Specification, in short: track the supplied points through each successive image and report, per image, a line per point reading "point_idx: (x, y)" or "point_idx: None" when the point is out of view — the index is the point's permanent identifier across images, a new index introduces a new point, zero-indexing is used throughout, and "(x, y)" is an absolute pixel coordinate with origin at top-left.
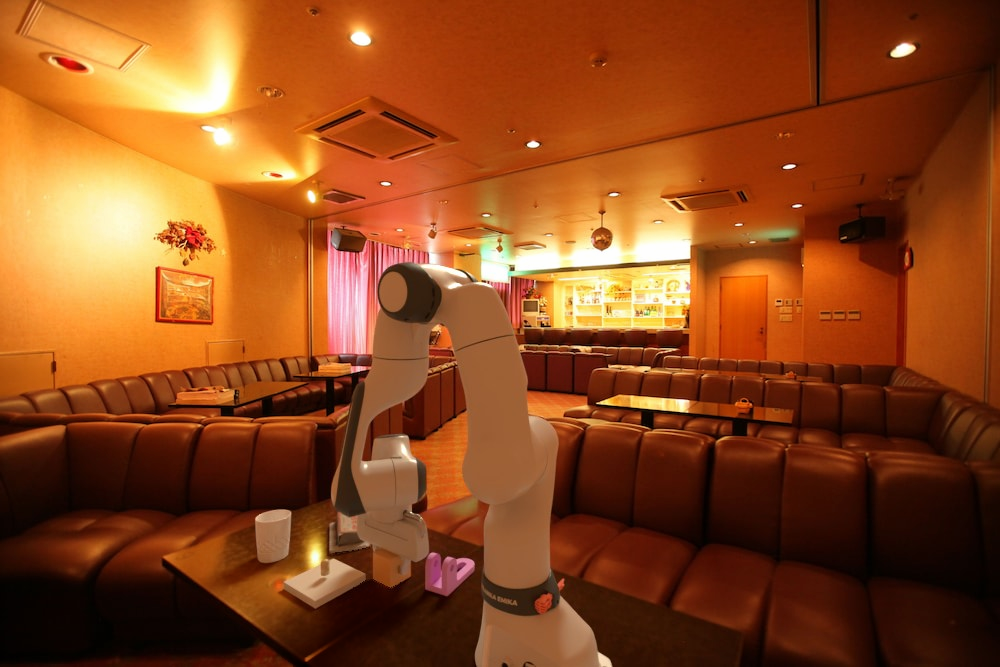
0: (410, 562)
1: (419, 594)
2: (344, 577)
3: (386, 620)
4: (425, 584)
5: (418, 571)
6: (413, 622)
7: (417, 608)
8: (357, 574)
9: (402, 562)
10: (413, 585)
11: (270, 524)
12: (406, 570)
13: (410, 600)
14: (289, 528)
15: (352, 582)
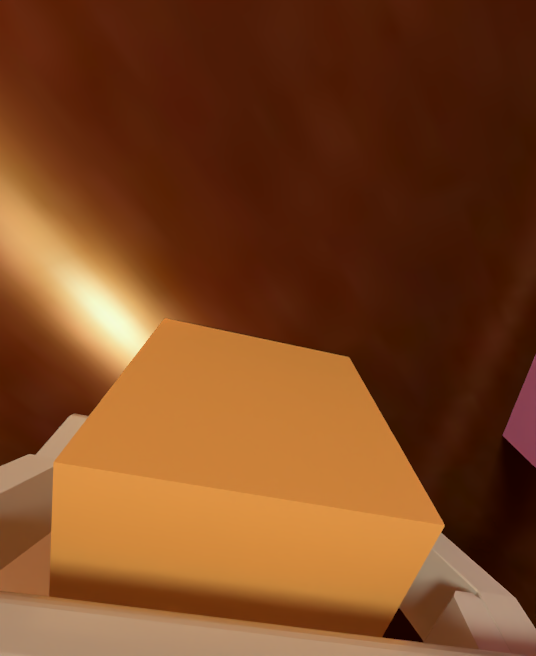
0: (380, 418)
1: (484, 480)
2: (6, 587)
3: (413, 638)
4: (523, 454)
5: (370, 280)
6: (527, 616)
7: (514, 558)
8: (46, 543)
9: (424, 636)
10: (414, 429)
11: None
12: None
13: (456, 529)
14: None
15: None
